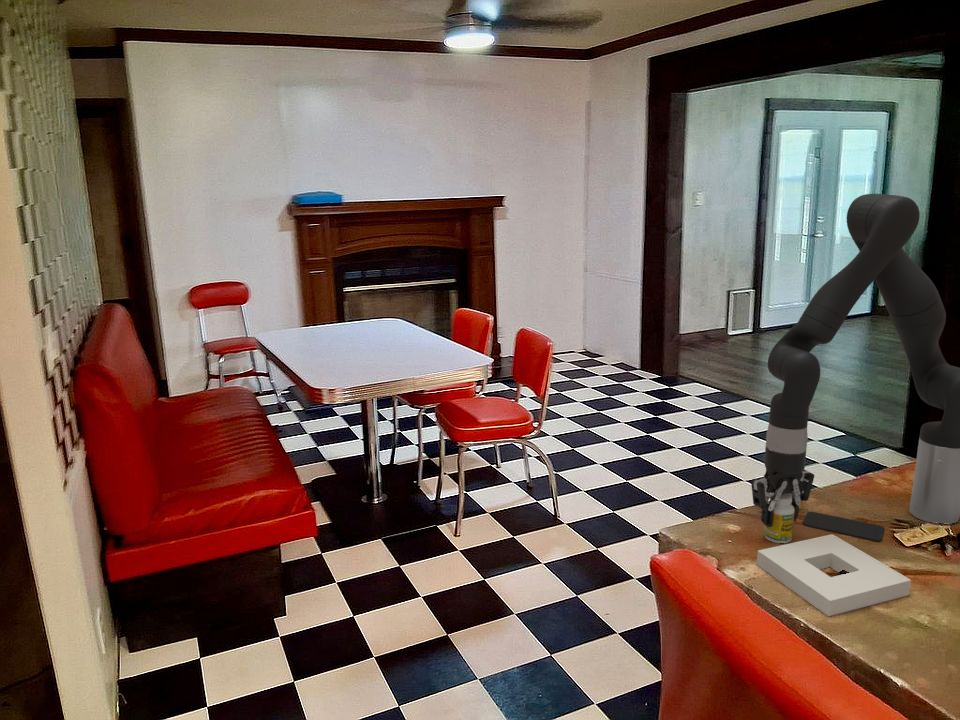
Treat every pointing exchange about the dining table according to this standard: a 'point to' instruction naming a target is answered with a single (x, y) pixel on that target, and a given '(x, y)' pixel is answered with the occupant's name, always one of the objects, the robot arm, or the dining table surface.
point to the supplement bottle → (781, 521)
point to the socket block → (838, 593)
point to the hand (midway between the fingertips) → (779, 522)
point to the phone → (844, 526)
